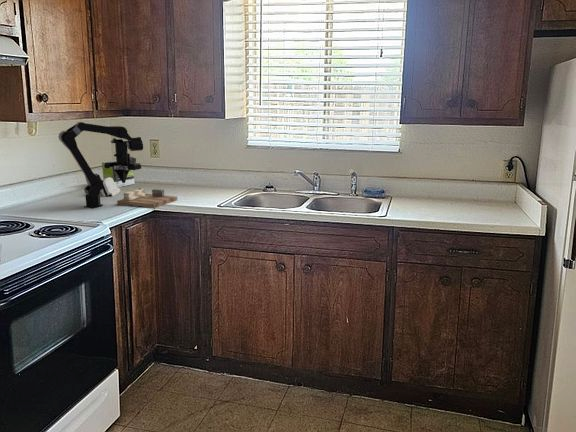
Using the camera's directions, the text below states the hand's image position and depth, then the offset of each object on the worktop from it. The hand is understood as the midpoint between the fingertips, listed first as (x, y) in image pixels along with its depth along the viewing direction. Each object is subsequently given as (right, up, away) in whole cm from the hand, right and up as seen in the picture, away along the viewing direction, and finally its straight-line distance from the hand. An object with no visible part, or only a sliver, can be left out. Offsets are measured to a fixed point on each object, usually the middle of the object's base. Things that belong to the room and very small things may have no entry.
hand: (123, 182), depth 271 cm
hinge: (-16, -5, +26) cm, 31 cm away
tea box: (-18, +1, +51) cm, 54 cm away
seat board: (+11, -10, +3) cm, 15 cm away
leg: (+5, -8, +3) cm, 9 cm away
